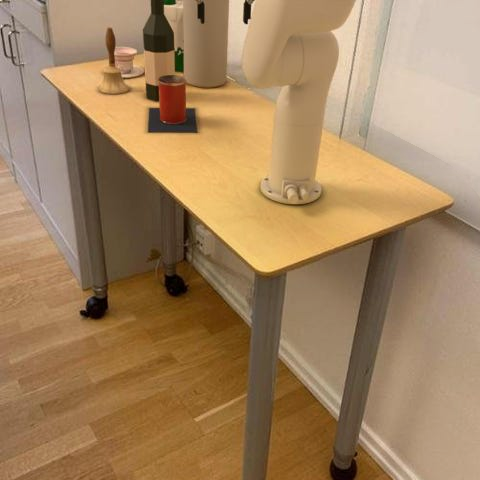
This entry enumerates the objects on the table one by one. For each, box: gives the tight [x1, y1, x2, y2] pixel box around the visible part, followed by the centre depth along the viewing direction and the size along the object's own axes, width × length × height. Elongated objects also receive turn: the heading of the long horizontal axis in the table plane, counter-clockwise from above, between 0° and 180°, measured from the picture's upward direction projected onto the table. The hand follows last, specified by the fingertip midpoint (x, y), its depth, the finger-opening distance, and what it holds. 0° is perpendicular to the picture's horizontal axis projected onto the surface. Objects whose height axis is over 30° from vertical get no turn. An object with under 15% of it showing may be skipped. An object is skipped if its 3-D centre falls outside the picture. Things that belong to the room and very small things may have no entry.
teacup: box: [103, 46, 145, 79], centre depth 173 cm, size 12×12×6 cm
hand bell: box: [98, 27, 130, 95], centre depth 158 cm, size 8×8×16 cm
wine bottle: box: [142, 0, 176, 102], centre depth 151 cm, size 8×8×30 cm
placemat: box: [147, 107, 199, 134], centre depth 148 cm, size 16×12×1 cm
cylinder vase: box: [182, 0, 230, 89], centre depth 164 cm, size 12×12×25 cm
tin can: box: [158, 74, 187, 125], centre depth 145 cm, size 7×7×10 cm
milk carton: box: [164, 0, 184, 73], centre depth 174 cm, size 9×9×20 cm
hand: (224, 22), depth 130 cm, fingers open, 9 cm apart
